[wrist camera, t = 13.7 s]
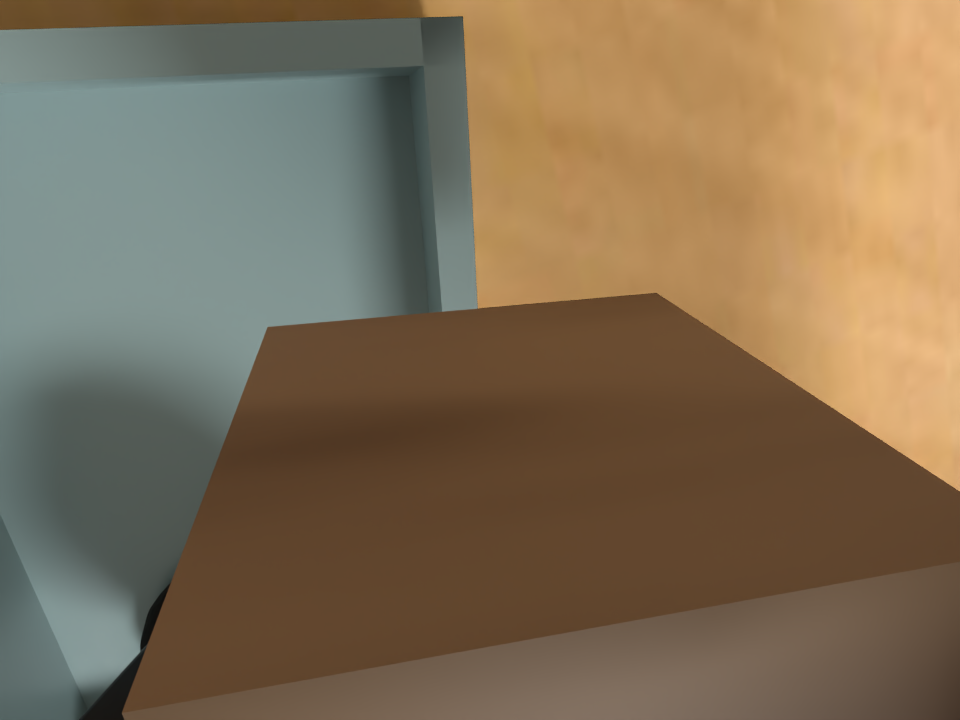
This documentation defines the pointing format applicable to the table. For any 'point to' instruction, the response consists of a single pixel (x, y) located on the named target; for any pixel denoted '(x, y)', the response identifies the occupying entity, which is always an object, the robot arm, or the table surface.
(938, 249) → the table surface
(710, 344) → the walnut cube
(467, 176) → the tote
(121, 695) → the robot arm
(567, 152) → the table surface
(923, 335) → the table surface
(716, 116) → the table surface
